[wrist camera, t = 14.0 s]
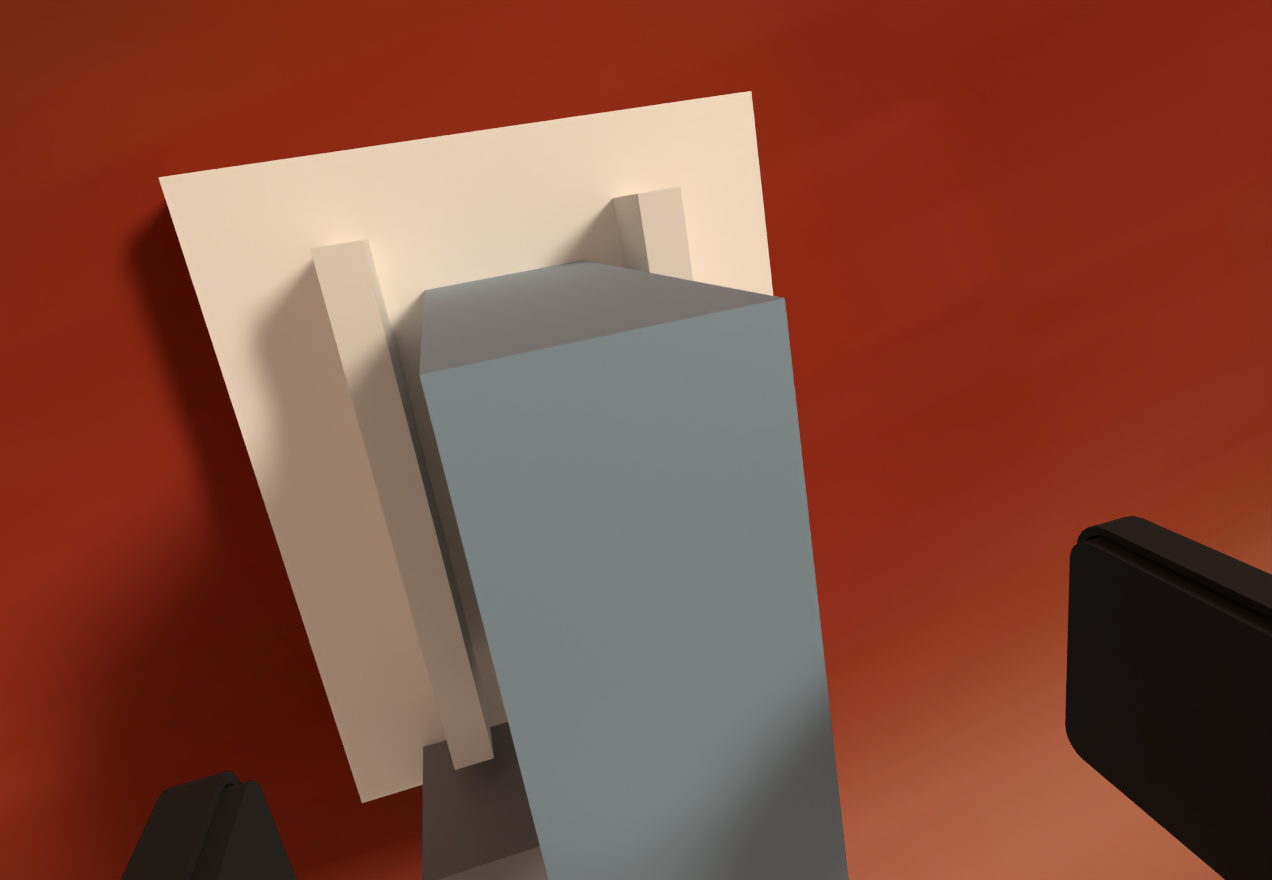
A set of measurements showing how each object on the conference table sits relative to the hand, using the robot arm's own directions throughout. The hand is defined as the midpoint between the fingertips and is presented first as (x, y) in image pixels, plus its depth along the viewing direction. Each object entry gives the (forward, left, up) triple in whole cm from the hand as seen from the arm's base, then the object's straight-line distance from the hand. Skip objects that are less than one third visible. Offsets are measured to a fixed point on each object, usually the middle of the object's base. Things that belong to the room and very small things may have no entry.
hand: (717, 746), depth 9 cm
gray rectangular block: (0, 0, -13) cm, 13 cm away
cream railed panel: (+1, 0, -15) cm, 15 cm away
